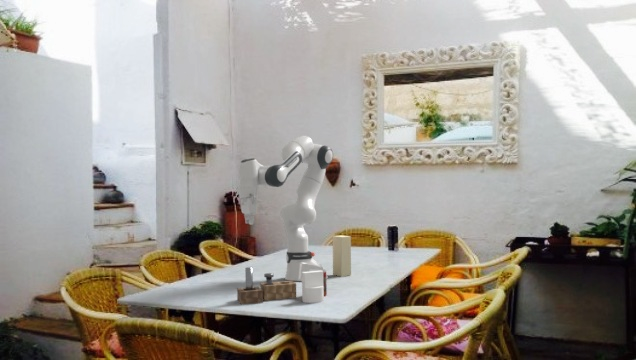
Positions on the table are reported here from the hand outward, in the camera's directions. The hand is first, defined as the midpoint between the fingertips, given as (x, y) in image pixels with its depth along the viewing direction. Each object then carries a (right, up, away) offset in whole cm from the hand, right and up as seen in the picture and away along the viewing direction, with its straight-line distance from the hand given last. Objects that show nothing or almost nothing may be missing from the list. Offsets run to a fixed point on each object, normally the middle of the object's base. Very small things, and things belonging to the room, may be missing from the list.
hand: (249, 224), depth 240 cm
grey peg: (+3, -31, -20) cm, 37 cm away
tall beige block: (+45, -31, +42) cm, 68 cm away
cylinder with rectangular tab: (+29, -30, -20) cm, 47 cm away
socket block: (+14, -31, -13) cm, 36 cm away
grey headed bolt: (+10, -29, -14) cm, 33 cm away
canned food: (+31, -31, -10) cm, 45 cm away
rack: (+3, -31, -20) cm, 37 cm away
